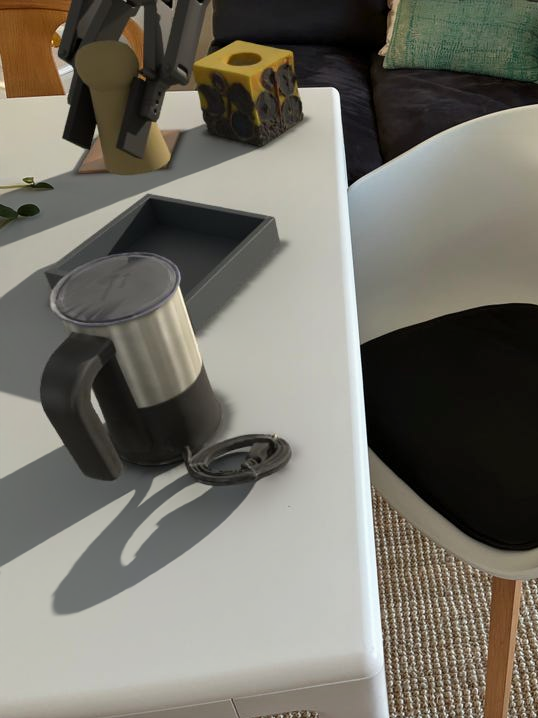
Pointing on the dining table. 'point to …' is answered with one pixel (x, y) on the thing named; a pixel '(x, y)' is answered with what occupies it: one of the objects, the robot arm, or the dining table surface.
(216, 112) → the candle
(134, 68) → the pepper shaker
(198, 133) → the dining table surface
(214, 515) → the dining table surface
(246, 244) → the tray
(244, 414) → the dining table surface
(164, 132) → the coaster
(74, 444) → the milk frother
